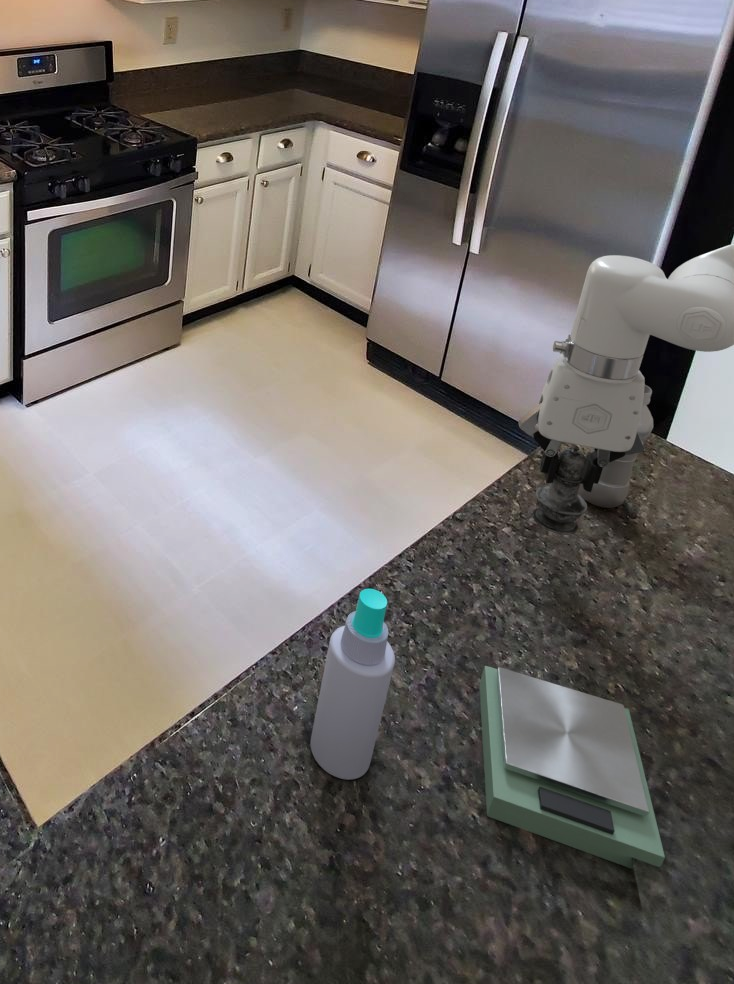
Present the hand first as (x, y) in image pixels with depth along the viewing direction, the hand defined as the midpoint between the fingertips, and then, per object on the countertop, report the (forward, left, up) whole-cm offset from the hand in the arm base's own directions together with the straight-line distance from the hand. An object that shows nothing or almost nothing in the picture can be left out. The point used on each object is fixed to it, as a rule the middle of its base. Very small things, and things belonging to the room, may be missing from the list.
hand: (566, 480), depth 103 cm
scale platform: (+2, +31, -11) cm, 33 cm away
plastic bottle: (-9, -18, -14) cm, 25 cm away
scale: (+2, +32, -14) cm, 35 cm away
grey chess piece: (0, 0, -7) cm, 7 cm away
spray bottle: (+23, +39, -14) cm, 47 cm away
